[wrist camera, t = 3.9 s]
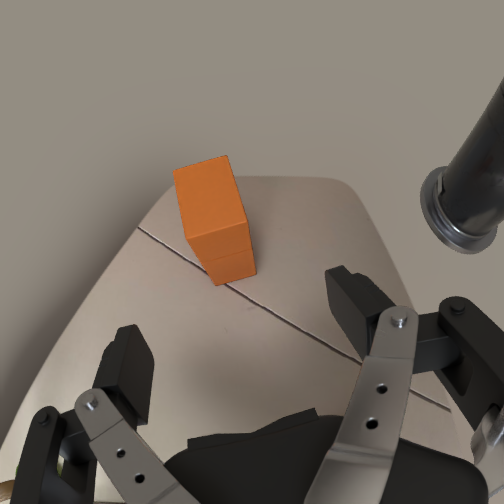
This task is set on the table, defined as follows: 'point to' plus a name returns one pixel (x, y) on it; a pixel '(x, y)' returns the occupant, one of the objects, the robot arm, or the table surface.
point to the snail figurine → (6, 489)
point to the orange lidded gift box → (215, 219)
